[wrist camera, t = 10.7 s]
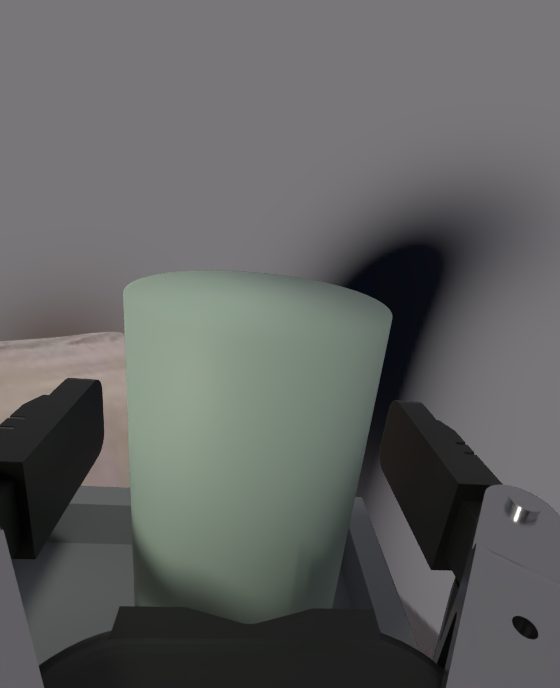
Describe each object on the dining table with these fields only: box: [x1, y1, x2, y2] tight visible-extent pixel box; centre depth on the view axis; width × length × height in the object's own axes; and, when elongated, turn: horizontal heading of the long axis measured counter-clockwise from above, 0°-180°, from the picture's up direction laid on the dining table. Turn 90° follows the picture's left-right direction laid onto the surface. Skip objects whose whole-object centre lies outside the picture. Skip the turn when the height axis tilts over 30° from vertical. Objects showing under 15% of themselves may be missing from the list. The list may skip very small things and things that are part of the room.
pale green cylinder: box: [123, 270, 392, 624], centre depth 10 cm, size 5×5×12 cm
